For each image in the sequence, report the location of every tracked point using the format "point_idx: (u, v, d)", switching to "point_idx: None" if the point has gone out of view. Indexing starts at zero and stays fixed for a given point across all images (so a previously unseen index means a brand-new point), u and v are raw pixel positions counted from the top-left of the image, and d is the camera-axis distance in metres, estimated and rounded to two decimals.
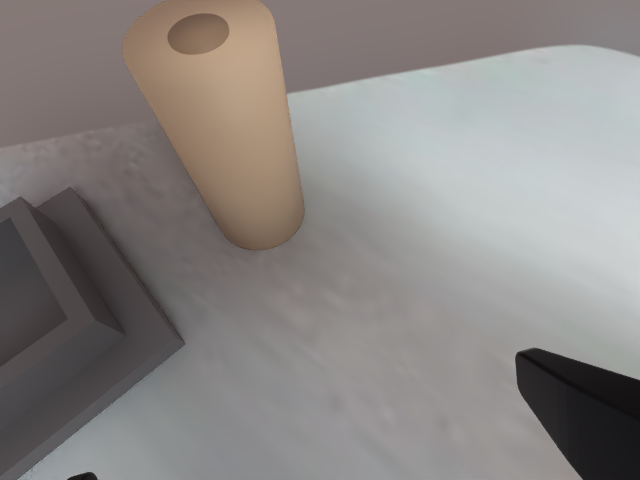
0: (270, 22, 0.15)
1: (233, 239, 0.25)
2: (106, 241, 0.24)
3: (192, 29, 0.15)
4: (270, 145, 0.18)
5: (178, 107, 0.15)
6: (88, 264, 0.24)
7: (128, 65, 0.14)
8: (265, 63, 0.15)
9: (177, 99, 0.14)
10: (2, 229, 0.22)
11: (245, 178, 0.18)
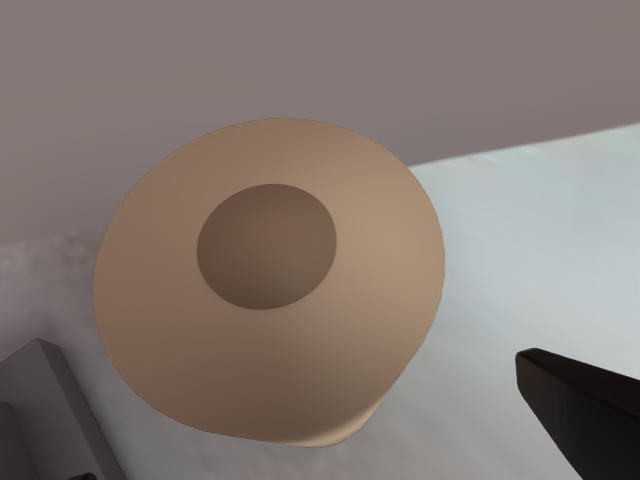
0: (427, 213, 0.07)
1: None
2: (85, 442, 0.16)
3: (253, 231, 0.07)
4: None
5: None
6: None
7: (104, 338, 0.06)
8: (428, 327, 0.06)
9: None
10: None
11: (328, 439, 0.10)
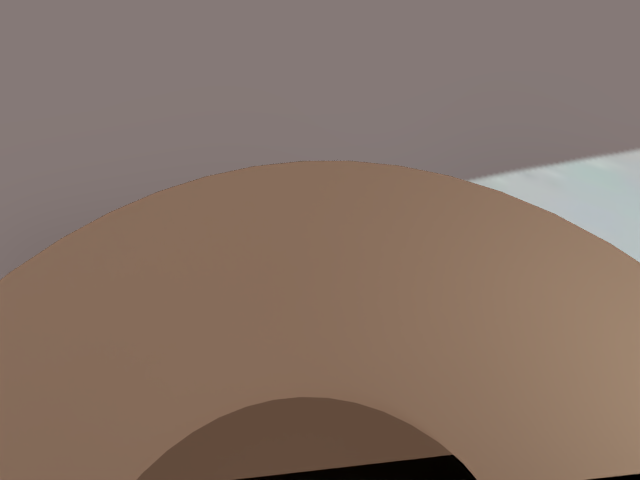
0: None
1: None
2: None
3: None
4: None
5: None
6: None
7: None
8: None
9: None
10: None
11: None
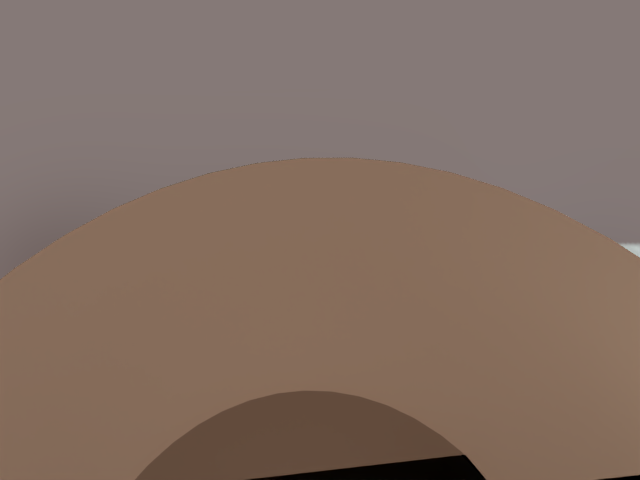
0: None
1: None
2: None
3: None
4: None
5: None
6: None
7: None
8: None
9: None
10: None
11: None
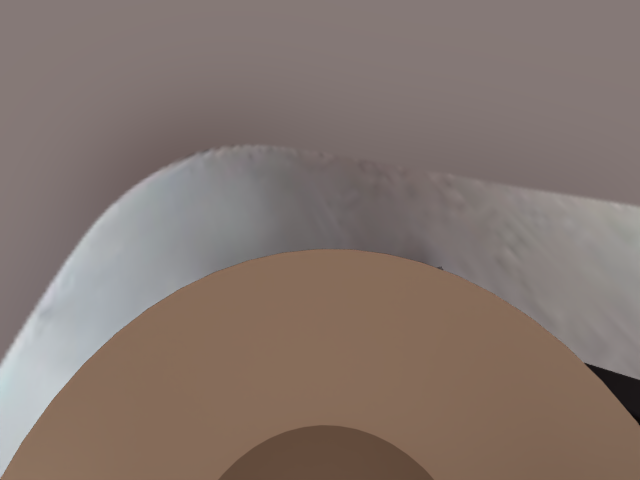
0: None
1: None
2: None
3: None
4: None
5: None
6: None
7: None
8: None
9: None
10: None
11: None
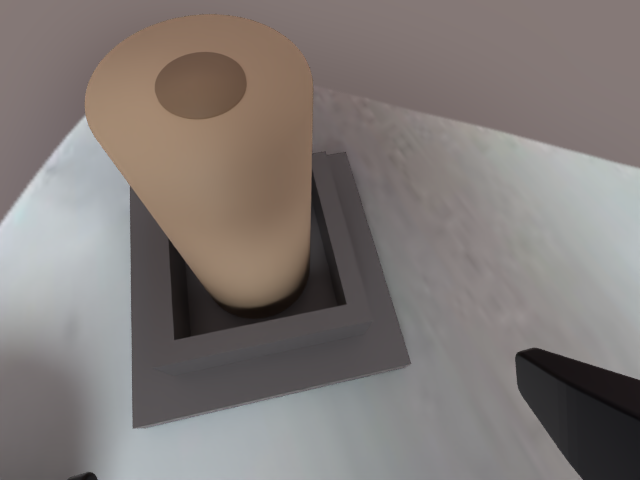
0: (306, 76, 0.11)
1: (222, 306, 0.20)
2: (367, 226, 0.23)
3: (192, 77, 0.10)
4: (286, 228, 0.13)
5: (165, 194, 0.10)
6: None
7: (92, 127, 0.10)
8: (297, 139, 0.10)
9: (164, 187, 0.10)
10: None
11: (248, 264, 0.14)
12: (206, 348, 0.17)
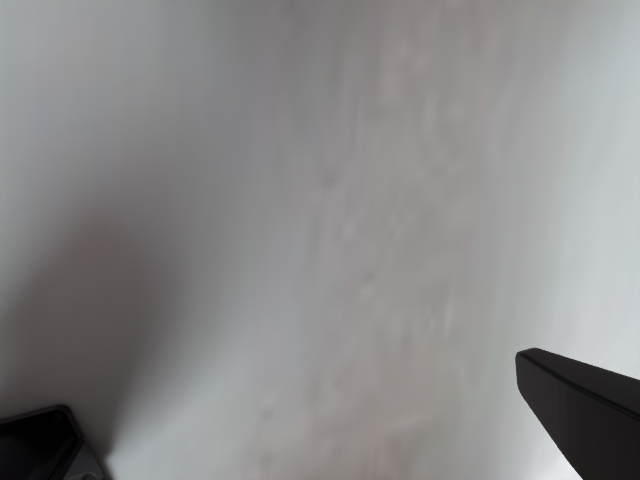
0: None
1: None
2: None
3: None
4: None
5: None
6: None
7: None
8: None
9: None
10: None
11: None
12: None
